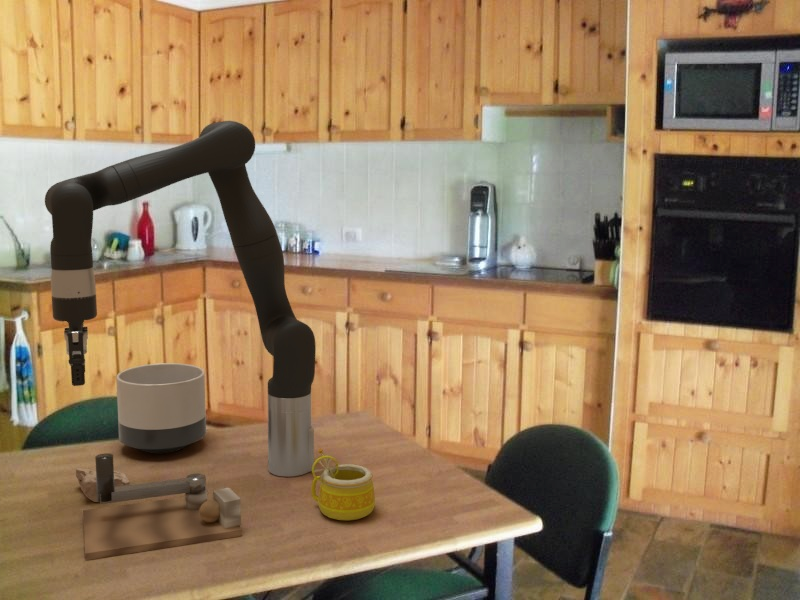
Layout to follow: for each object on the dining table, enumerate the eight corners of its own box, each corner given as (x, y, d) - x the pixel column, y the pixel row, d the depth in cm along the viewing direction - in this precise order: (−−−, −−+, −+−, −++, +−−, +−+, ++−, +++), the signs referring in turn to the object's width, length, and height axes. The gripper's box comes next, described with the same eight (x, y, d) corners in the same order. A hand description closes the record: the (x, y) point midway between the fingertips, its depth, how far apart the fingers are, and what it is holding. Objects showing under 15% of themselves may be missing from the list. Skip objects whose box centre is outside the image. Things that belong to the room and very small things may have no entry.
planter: (103, 459, 179) (100, 382, 176) (142, 431, 198) (140, 361, 195) (186, 465, 177) (184, 386, 174) (218, 436, 196) (216, 365, 193)
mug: (383, 505, 158) (384, 446, 156) (362, 528, 148) (363, 466, 146) (323, 495, 162) (323, 438, 160) (299, 517, 152) (299, 456, 150)
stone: (84, 506, 155) (83, 482, 154) (75, 486, 165) (74, 463, 164) (132, 498, 160) (131, 474, 159) (120, 478, 169) (119, 456, 169)
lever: (204, 484, 155) (203, 442, 154) (207, 491, 152) (206, 448, 151) (97, 498, 148) (95, 453, 147) (97, 506, 145) (95, 460, 143)
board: (224, 497, 161) (224, 467, 160) (243, 535, 144) (242, 502, 143) (83, 516, 151) (81, 484, 150) (85, 560, 134) (83, 525, 133)
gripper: (96, 298, 142) (100, 387, 145) (95, 286, 155) (100, 368, 158) (49, 300, 139) (55, 391, 142) (53, 287, 152) (58, 371, 155)
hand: (78, 379), depth 150 cm, fingers open, 8 cm apart
